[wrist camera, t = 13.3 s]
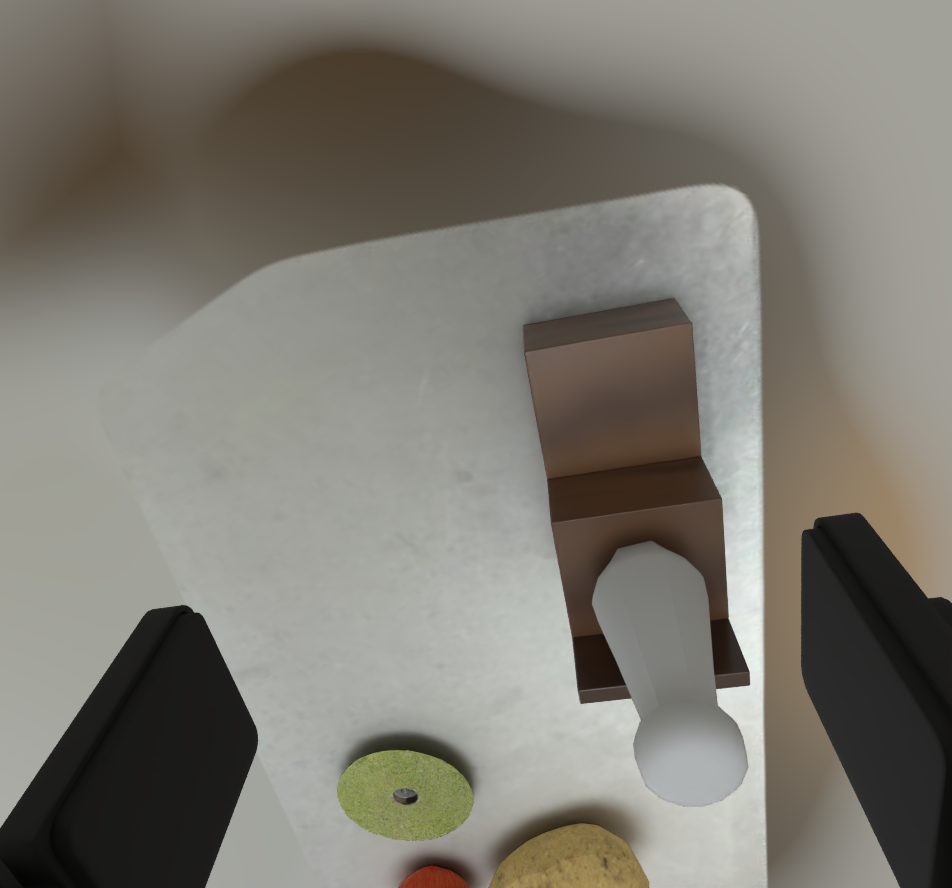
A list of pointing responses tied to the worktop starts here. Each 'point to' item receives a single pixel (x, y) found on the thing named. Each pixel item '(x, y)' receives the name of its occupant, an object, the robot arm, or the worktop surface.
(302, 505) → the worktop surface
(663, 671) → the salt shaker
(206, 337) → the worktop surface
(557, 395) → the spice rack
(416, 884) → the apple
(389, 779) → the mat
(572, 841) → the potato
